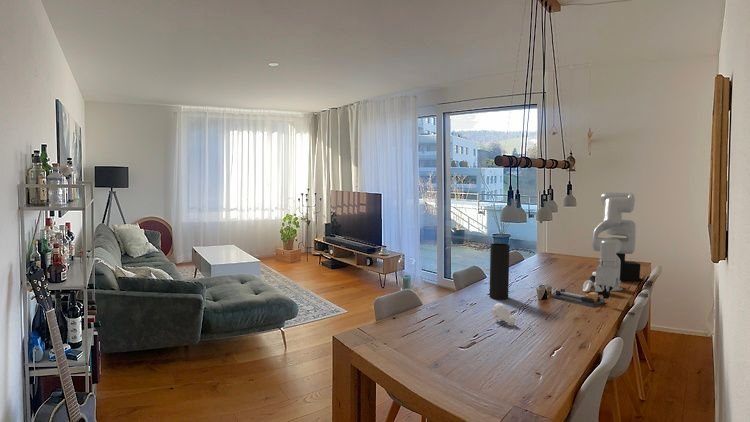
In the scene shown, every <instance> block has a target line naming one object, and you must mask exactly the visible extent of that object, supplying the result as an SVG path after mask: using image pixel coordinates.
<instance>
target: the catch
mask: <svg viewBox="0 0 750 422" xmlns="http://www.w3.org/2000/svg"><path fill="white" fill-rule="evenodd" d="M585 297H587V298H592V299H595V300H594V301H597V300H598V297H599V294H598V293H596V292H591V291H590V292H587V294H585Z"/></svg>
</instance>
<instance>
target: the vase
mask: <svg viewBox="0 0 750 422" xmlns="http://www.w3.org/2000/svg"><path fill="white" fill-rule="evenodd" d="M510 246H511V245H510V244H508V243H500V242H498V243H497V242H495V243H490V248H489V249H490V251H489V253H490V254H489V255H490V256H489V263H490V264H489V265H490V266H489V292H488V293H489V295H488V297H489V298H490V299H493V300H498V301H499V300H501V301H505V300H508V299H509V281H510V279H509V277H510V248H511V247H510Z"/></svg>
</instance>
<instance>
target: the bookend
mask: <svg viewBox="0 0 750 422" xmlns="http://www.w3.org/2000/svg"><path fill="white" fill-rule="evenodd" d="M616 255H617V256H618V257H619V258H620V261H621V265H620V281H625V282H643V278H642V277H640V276H641V263H639V262H637V261H632V260H631V261H630V260H627V261H626V254H622V253H616Z"/></svg>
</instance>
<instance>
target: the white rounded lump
mask: <svg viewBox="0 0 750 422" xmlns="http://www.w3.org/2000/svg"><path fill="white" fill-rule="evenodd" d="M491 312H492V316H493V319H494V323H498V321H503V322H504V321H505V322H506V325H507V326H511V327H513V326H514V325H515V323H516V318H515V317H514V316H513V315H511V312H510V311H509V309H508V308H507V306H506V305H505V304H504V303H499V302H497V303H495V304H494V305H493V307H492V309H491Z"/></svg>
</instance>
